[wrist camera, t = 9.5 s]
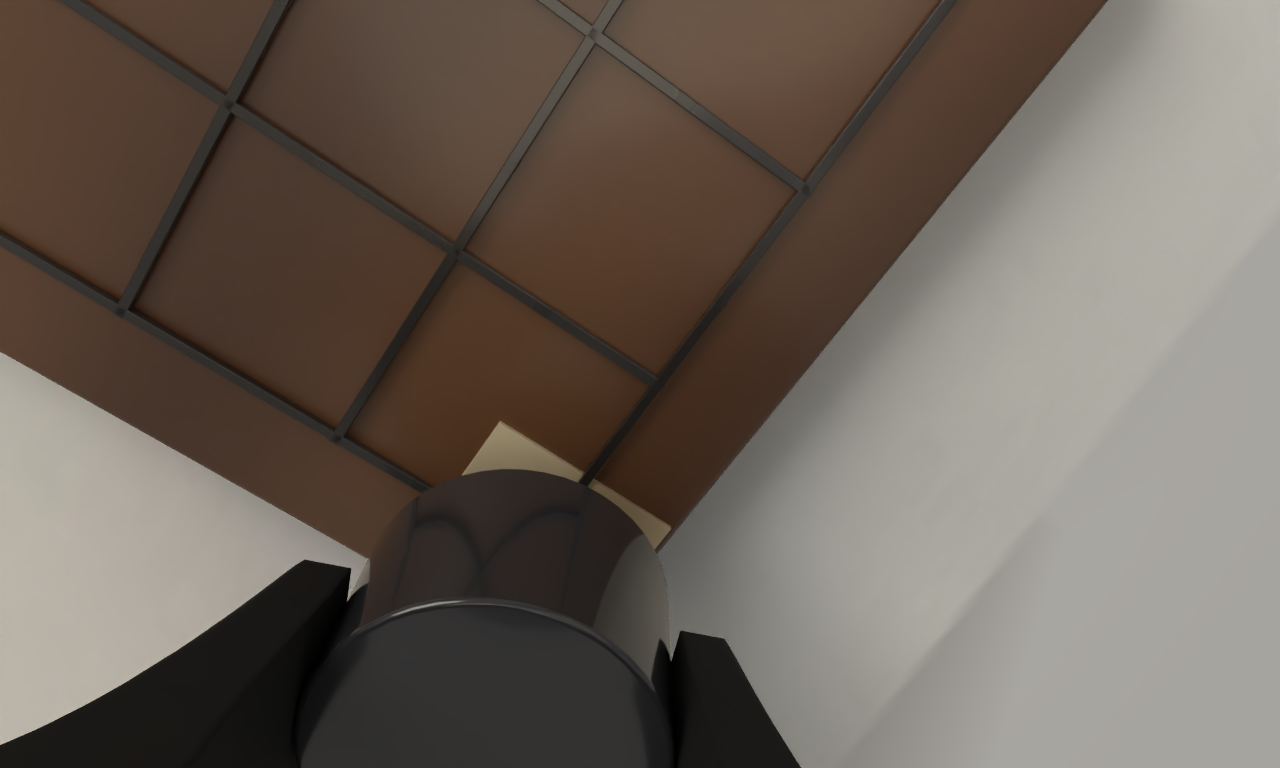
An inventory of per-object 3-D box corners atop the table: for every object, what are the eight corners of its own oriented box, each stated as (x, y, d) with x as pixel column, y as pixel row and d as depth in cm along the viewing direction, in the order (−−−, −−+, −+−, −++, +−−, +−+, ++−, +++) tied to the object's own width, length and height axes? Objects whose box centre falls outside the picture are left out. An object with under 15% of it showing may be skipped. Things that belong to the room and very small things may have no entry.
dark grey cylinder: (700, 500, 13) (717, 641, 10) (632, 743, 15) (630, 927, 12) (385, 437, 13) (309, 565, 10) (350, 694, 15) (276, 870, 12)
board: (1128, -69, 13) (1181, -77, 12) (568, 629, 17) (562, 678, 16) (194, -894, 10) (131, -1025, 9) (-205, 184, 14) (-288, 201, 13)
